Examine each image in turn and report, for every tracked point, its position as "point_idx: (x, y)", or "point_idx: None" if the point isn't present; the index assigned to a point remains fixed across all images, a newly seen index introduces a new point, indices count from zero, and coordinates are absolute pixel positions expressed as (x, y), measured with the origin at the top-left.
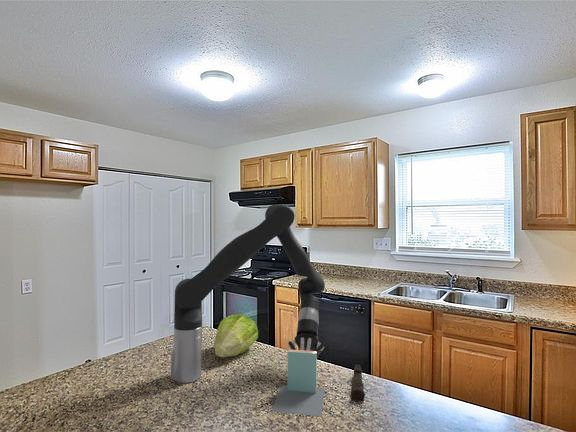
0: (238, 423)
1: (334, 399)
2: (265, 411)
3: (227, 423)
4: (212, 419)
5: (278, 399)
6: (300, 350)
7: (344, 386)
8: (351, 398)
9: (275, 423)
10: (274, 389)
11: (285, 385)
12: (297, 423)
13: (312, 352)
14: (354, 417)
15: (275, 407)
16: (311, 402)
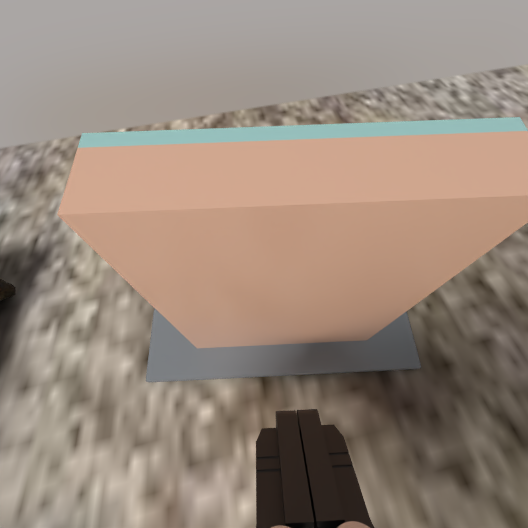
0: (433, 93)
1: (106, 292)
2: None
3: (464, 88)
4: (522, 94)
5: None
6: (349, 187)
7: (8, 472)
8: (11, 284)
9: (324, 111)
10: (436, 322)
11: (392, 358)
12: (254, 122)
13: (139, 161)
14: (48, 183)
15: None
16: None
